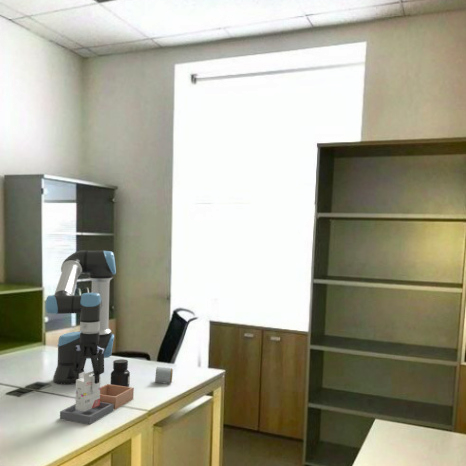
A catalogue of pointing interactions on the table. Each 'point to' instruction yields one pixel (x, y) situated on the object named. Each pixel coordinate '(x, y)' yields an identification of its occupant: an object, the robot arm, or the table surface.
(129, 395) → the square wooden frame
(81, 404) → the ink cartridge box
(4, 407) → the table surface
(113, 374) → the ink bottle
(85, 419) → the tray
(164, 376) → the ceramic mug
